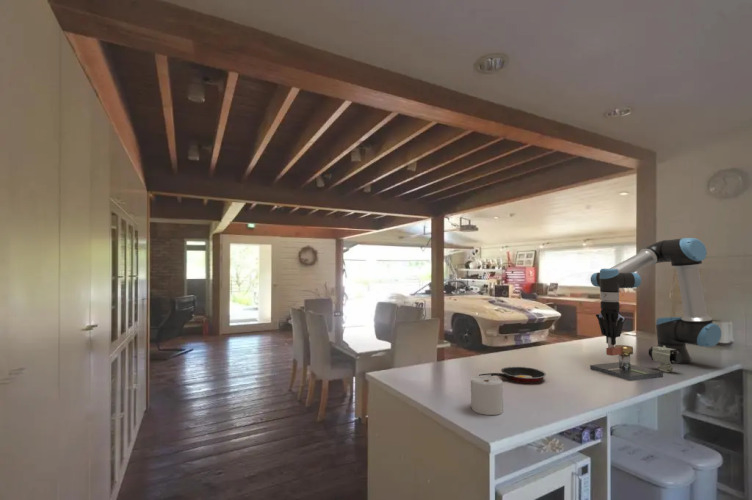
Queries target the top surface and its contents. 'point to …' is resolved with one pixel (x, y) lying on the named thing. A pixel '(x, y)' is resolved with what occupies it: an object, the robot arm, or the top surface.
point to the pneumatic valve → (665, 357)
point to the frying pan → (521, 374)
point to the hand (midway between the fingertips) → (611, 351)
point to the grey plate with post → (626, 369)
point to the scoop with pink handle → (619, 350)
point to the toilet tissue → (486, 395)
